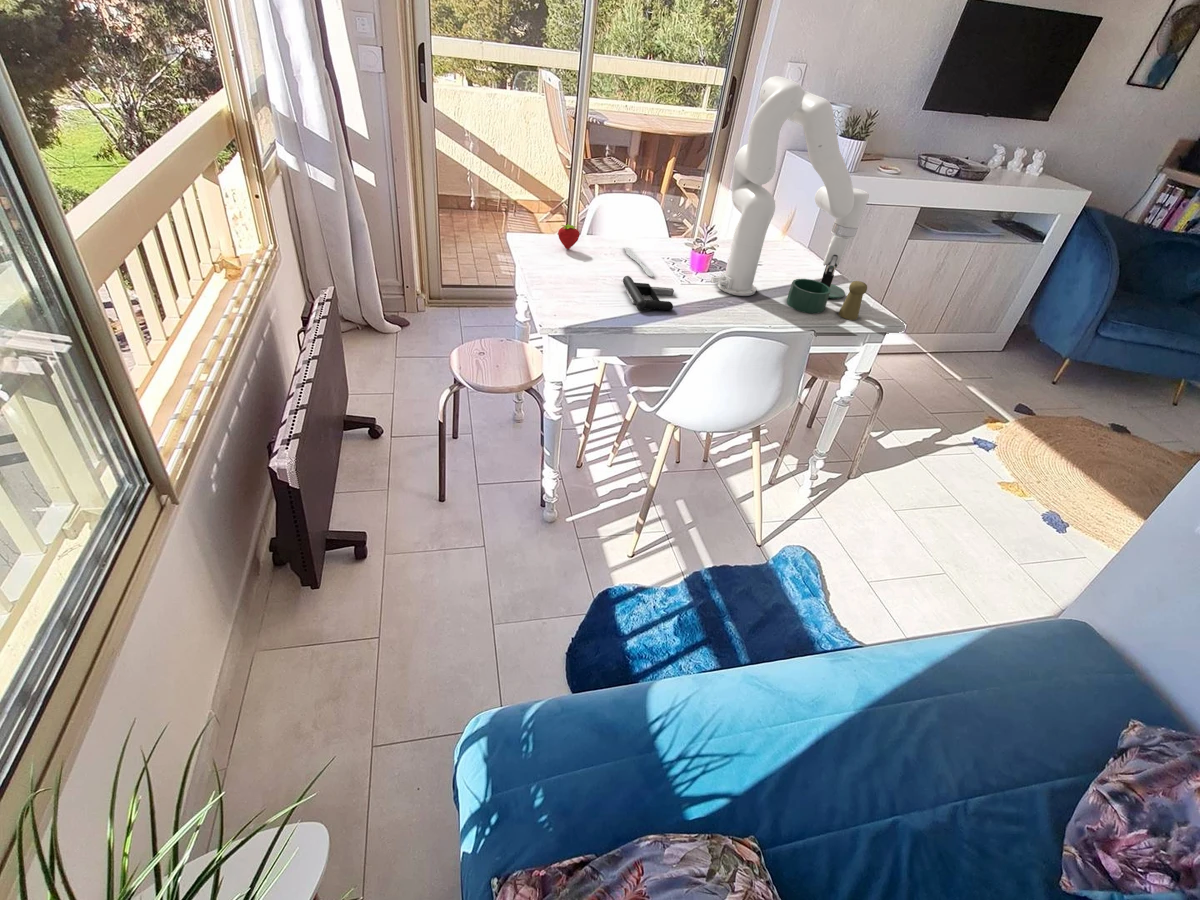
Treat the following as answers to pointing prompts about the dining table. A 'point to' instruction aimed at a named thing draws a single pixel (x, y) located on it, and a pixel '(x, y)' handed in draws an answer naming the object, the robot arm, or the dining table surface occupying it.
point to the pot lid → (836, 291)
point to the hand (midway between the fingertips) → (826, 281)
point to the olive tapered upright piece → (853, 300)
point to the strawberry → (568, 235)
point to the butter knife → (639, 262)
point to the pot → (808, 295)
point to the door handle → (645, 289)
